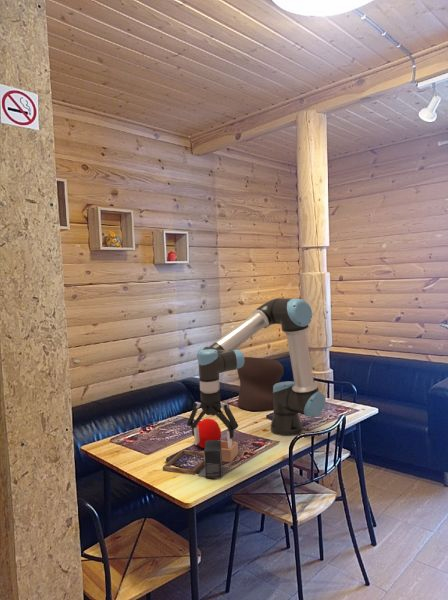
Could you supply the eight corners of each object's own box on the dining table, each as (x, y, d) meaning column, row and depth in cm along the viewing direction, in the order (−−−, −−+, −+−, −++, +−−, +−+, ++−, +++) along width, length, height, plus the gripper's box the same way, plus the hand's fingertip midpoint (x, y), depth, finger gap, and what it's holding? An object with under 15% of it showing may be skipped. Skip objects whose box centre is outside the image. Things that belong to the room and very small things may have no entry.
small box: (206, 465, 175) (204, 439, 174) (222, 465, 175) (221, 439, 174) (204, 478, 164) (203, 450, 164) (222, 477, 164) (221, 449, 164)
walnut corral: (211, 456, 185) (211, 453, 185) (194, 474, 168) (194, 471, 168) (182, 453, 189) (182, 449, 189) (162, 470, 173) (162, 466, 173)
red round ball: (216, 456, 192) (206, 446, 204) (230, 430, 194) (219, 421, 206) (192, 445, 188) (183, 435, 200) (206, 417, 190) (197, 410, 202)
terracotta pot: (238, 453, 187) (237, 442, 186) (231, 462, 178) (230, 450, 178) (218, 451, 190) (217, 440, 189) (210, 459, 181) (210, 447, 181)
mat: (228, 468, 172) (228, 467, 172) (220, 479, 164) (220, 478, 164) (207, 466, 175) (207, 465, 175) (197, 476, 167) (197, 475, 167)
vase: (287, 411, 241) (285, 356, 240) (238, 412, 242) (236, 358, 240) (281, 397, 268) (280, 348, 266) (237, 399, 268) (235, 350, 267)
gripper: (244, 389, 167) (247, 443, 168) (184, 386, 176) (188, 438, 177) (238, 394, 160) (241, 451, 161) (176, 392, 169) (179, 446, 170)
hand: (213, 445), depth 169 cm, fingers open, 13 cm apart
